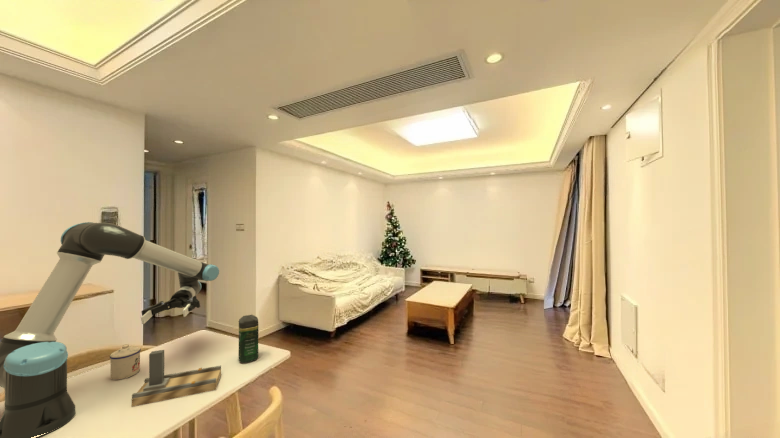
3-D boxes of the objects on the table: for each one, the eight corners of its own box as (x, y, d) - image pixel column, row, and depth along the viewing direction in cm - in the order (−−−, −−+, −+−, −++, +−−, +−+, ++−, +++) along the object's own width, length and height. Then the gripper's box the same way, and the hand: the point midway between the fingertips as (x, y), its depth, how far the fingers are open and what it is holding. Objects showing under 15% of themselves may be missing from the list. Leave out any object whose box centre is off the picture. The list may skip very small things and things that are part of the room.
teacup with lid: (138, 375, 111) (138, 346, 111) (106, 383, 106) (106, 352, 106) (143, 362, 121) (143, 336, 121) (114, 369, 116) (114, 341, 116)
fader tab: (143, 391, 96) (143, 356, 96) (149, 383, 101) (149, 350, 101) (164, 387, 99) (164, 353, 99) (169, 380, 103) (169, 347, 103)
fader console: (131, 406, 93) (131, 394, 93) (145, 388, 103) (145, 377, 103) (215, 389, 102) (215, 378, 102) (221, 374, 112) (221, 364, 112)
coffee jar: (259, 360, 123) (259, 318, 123) (239, 365, 119) (239, 321, 119) (256, 351, 131) (256, 312, 131) (237, 356, 127) (237, 315, 127)
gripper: (214, 299, 134) (201, 319, 115) (151, 310, 126) (125, 333, 106) (212, 284, 133) (199, 301, 114) (149, 294, 125) (122, 314, 105)
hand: (163, 316), depth 110 cm, fingers open, 13 cm apart
